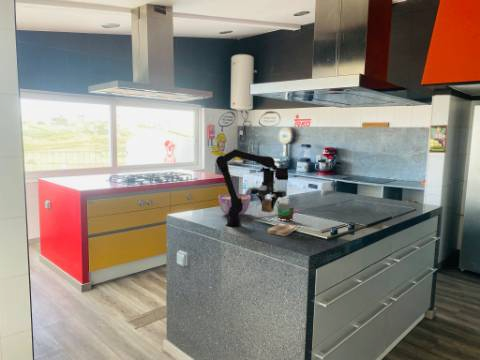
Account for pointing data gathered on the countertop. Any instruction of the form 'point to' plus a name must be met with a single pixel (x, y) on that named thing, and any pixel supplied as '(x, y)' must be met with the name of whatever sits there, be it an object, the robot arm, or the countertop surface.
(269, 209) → the walnut block
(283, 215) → the food container
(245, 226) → the countertop surface
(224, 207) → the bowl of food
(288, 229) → the oak base
